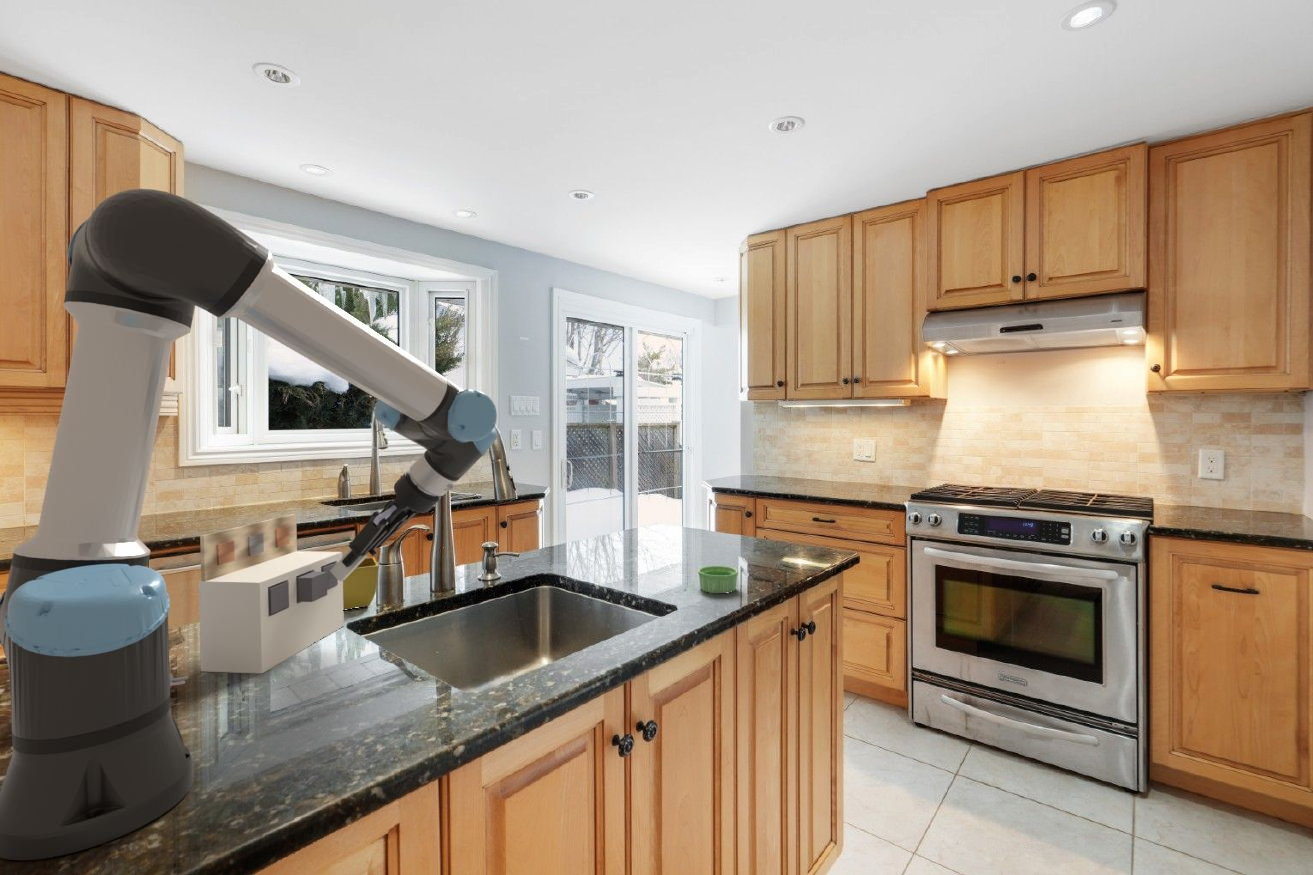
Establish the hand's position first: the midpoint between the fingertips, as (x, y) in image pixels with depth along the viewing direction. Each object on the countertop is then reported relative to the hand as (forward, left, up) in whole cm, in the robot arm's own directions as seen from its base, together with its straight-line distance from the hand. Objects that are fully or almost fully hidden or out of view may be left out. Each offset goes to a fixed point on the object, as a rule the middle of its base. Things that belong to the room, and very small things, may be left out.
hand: (337, 575), depth 110 cm
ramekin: (+34, -68, -11) cm, 77 cm away
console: (-7, +7, -11) cm, 14 cm away
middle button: (-7, +1, -2) cm, 7 cm away
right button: (0, +3, -2) cm, 4 cm away
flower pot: (+15, +7, -11) cm, 20 cm away
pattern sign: (-7, +11, +3) cm, 13 cm away
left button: (-13, +3, -2) cm, 13 cm away
